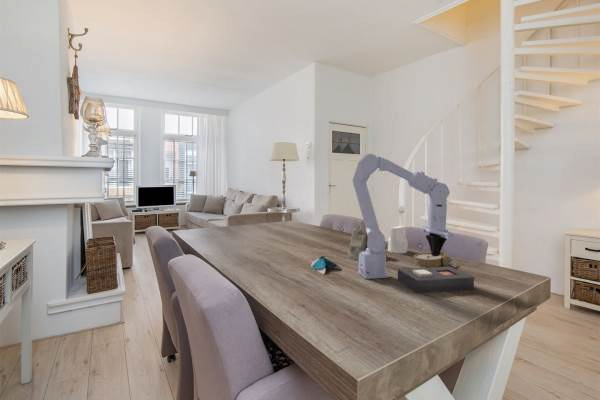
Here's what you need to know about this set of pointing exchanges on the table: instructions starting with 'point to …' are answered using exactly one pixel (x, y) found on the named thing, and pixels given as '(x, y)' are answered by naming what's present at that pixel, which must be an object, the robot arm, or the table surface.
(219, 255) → the table surface
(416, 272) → the cream key
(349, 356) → the table surface
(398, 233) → the cream upright block
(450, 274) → the red key
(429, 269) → the grey flat block
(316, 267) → the decorative butterfly
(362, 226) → the ceramic cottage
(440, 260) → the alarm clock
